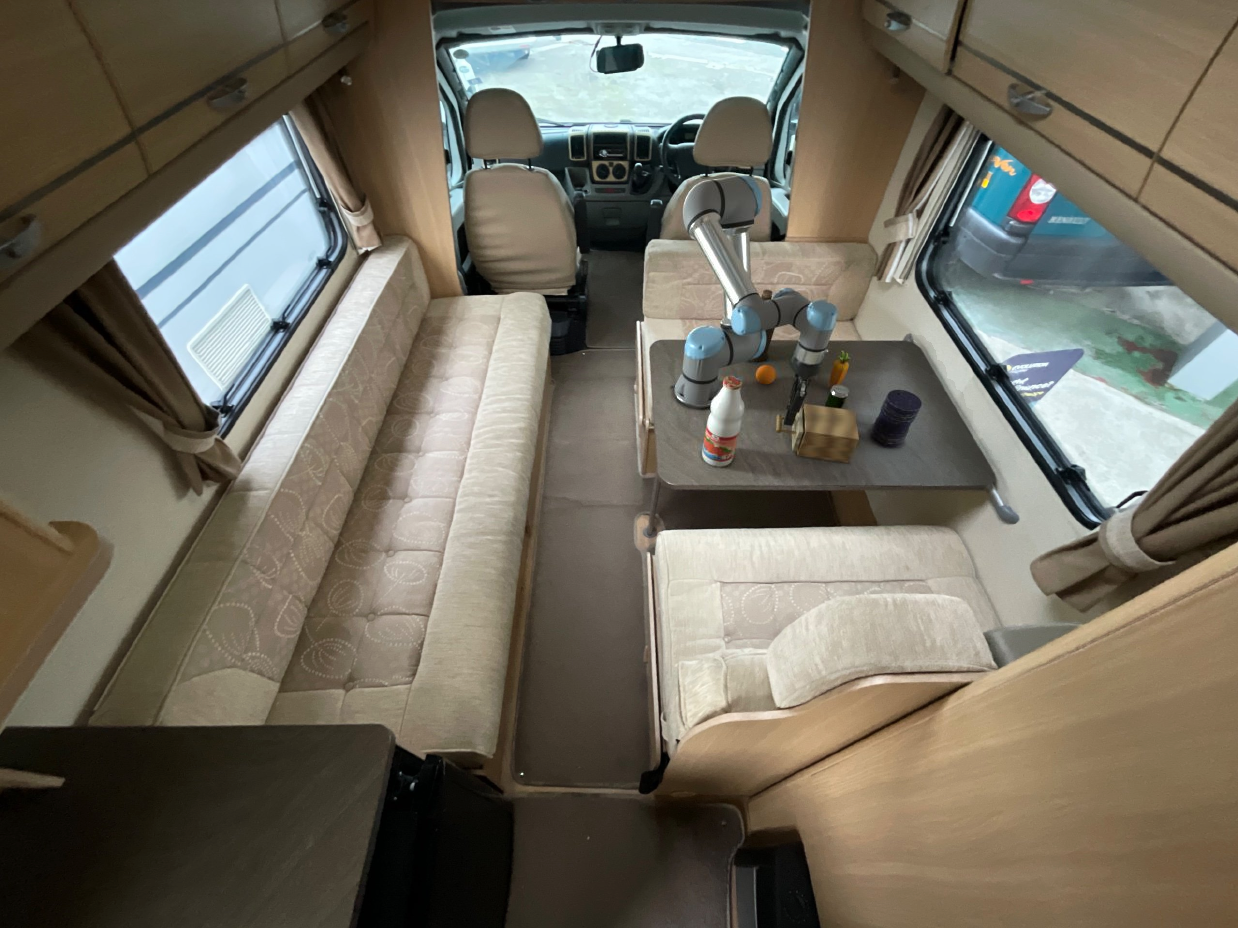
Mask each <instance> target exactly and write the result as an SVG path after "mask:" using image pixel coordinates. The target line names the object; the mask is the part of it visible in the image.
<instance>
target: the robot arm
mask: <svg viewBox="0 0 1238 928" xmlns="http://www.w3.org/2000/svg"><path fill="white" fill-rule="evenodd" d="M762 208H763V194H762V190H761V187H760V185H759V183H758V182H756V179H755V178H753V177H752V176H750V175H745V174H744V175H736V174H735V175H733V176H727V177H721V178H715V179H706V180H702V181H700V182H698V183H697V184H695V185H694V186H693V187H691V189H690V190H689V191H688V193H687V195H686V197H685V199H684V203H683V206H682V219H683V225H684V228H685V231H686V232H687V234H688V235H689V237H690V238H691V239H692V240H694V241H696V243H697V245H698V246H699V248H700V250H701V253H703V256H704V258H705V259H706V262H707V263H708V265H709V266H710V269H711V270H712V272H713V274H714V276H715V278H716V279H717V281H718V283H719V285H720V287H721V289H722V293H723V296H722V297H723V311H724V312H723V313H724V316H723V318H722V319H721V320H720V321H719V322H720V328H719V327H718V326H714V325H711V326H709V325H702V326H698V327H696V328H694V329H692V330H691V331H690V332H689V333H688V335H687V337H686V340H685V344H684V348H683V349H684V354H683V360H682V361H683V362H682V371H681V374H680V375H679V377H678V379H677V381H676V383H675V384H673V385H670V388H671V389H673V388H674V389H673V396H674V398H675V399H676V401H677V402H678V403H680V404H681V405H682V406H685V407H688V408H691V409H695V410H696V409H697V410H701V409H702V410H704V409H709V408H711V403H712V400H713V399H714V397H715V396H717V395H718V393H719V392H720V391H721V389H722V388H723V387H721V386H720V381H719V372H720V369H722V368H725V367H726V368H727V367H730V366H734V365H737V364H740V363H744V362H745V363H746V362H751V361H750V360H751V359H754V358H757V357H758V356H760V354H761V353H762V352H763V351H764V348H765V345H766V332H765V330H768V329H771V328H775V329H776V328H780V327H784V326H788V325H790V326H791V327H792V328H794V329H795V330H797V331H798V332H799V333H801V334H799V337H800V338H799V337H798V340H799V341H798V340H797V343H798V344H796V346H797V347H796V346H795V349H796V351H795V350H794V351H795V356H794V358H793V362H791V366H790V367H791V370H792V372H793V373H794V377H793V381H792V385H791V389H790V394H789V396H788V398H789V401H788V405H786V412H785V415H784V417H785V418H784V419H783V426H788V427H789V426H790V427H792V426H793V424H794V421H795V417H796V414H797V413H799V411H800V409H801V407H803V405H804V401H805V399H806V397H807V395H808V391H807V389H808V387H809V386H810V384H811V378H813V377H816V376H817V375H818V374H819V373H820V370H821V367H822V365H823V360H824V358H825V354H827V353H829V349H828V346H829V342H830V340H831V336H832V334H833V331H834V329H835V328H836V323H837V318H838V314H839V313H838V312H839V309H838V307H837V306H836V305H835V304H834V303H832V302H828V301H827V300H815V301H813V302H812V301H811V300H809V299H808V298H806V297H805V296H804V295H803V294H802V293H800V292H799V291H796V290H795V289H793V288H791V287H784V288H781V289H780V290H779V291H777V292H776V293H775V294H773V295H774V296H772V298H771V299H770V300H766V301H763V300H762V298H761V297H762V296H761V294H760V293H759V292H758V290H757V288H756V286H755V284H754V283H753V281H752V267H751V264H752V263H751V242H750V241H751V240H750V239H751V238H750V231H751V230H752V228H753V227H754V226H755V218H756V217H758V215H759V214H760V212H761V209H762Z"/></svg>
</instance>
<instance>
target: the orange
mask: <svg viewBox="0 0 1238 928" xmlns="http://www.w3.org/2000/svg"><path fill="white" fill-rule="evenodd" d="M755 372H756V373H755V378H756V380H757V382H758V383H760V384H762V385H769V384H771V383H773V382H774V380H775V379H776V376H777V375H776V374H777V372H776V370H775V368H774V367H773V366H772V365H769V364H764V365H761V366H759V368H757V370H756V371H755Z"/></svg>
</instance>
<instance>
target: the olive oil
mask: <svg viewBox="0 0 1238 928" xmlns="http://www.w3.org/2000/svg"><path fill="white" fill-rule="evenodd" d="M760 297H761V298H762V300H763V301H766V300H770V299H773V291H772V290H771V289H764V290H763V291H762V294H761V296H760ZM775 330H776V328H771V329H768V330H765V332H766V345H765V348H764V351H763V352H762V353H761V354H760V356H758V357H757V358H754V359H751V360H750V361H749V362H753V363H756V362H757V363H758V362H762V361H764V360H766V358H767V356H768V352H769V349H770V346H771V342H772V339H773V335H774V332H775Z"/></svg>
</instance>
